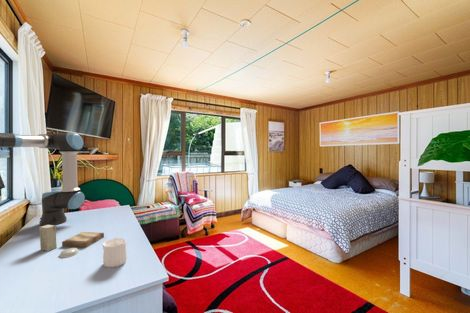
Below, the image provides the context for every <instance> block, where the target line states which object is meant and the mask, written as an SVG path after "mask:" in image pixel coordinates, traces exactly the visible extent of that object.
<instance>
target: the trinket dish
mask: <svg viewBox="0 0 470 313" xmlns="http://www.w3.org/2000/svg"><path fill="white" fill-rule="evenodd" d="M79 253H80V249H79V248H78V247H68V248H66V249H64V250H62V251H60V253H59V254H58V255H59V256H58V257H60V258H62V259H63V258H70V257H73V256H76V255H77V254H79Z"/></svg>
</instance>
